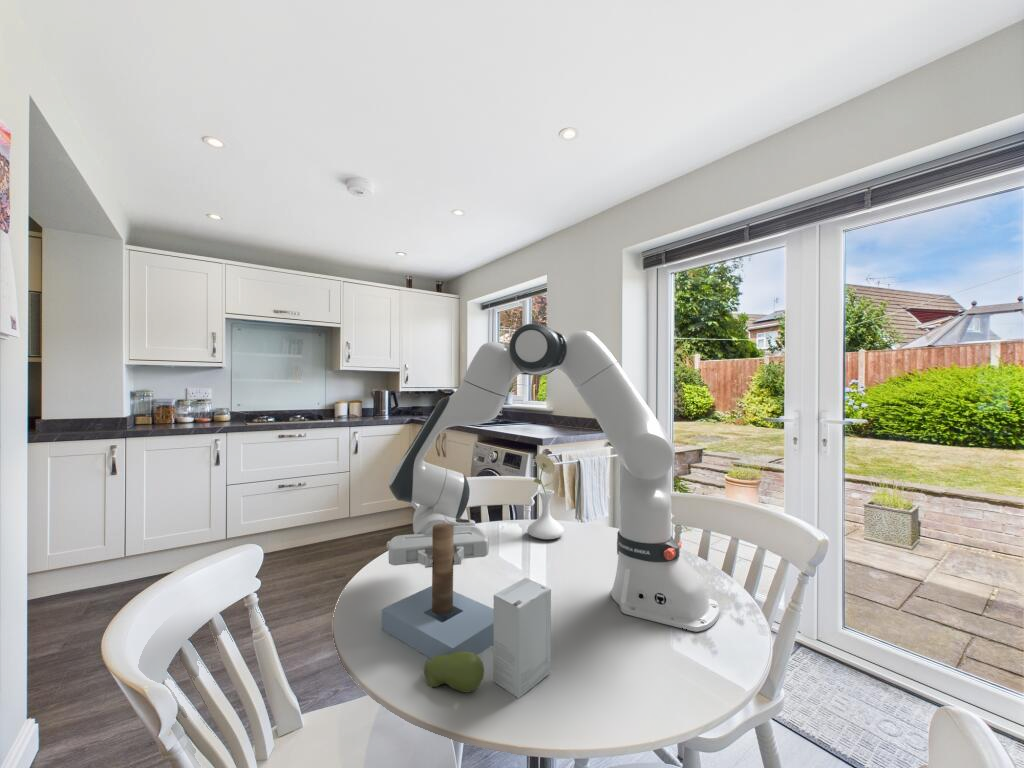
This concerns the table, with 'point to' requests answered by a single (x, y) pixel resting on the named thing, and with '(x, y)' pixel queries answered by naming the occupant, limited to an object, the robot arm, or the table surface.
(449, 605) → the peg
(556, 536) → the flower in vase
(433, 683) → the pear
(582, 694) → the table surface
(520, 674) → the skincare box
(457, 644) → the socket board
